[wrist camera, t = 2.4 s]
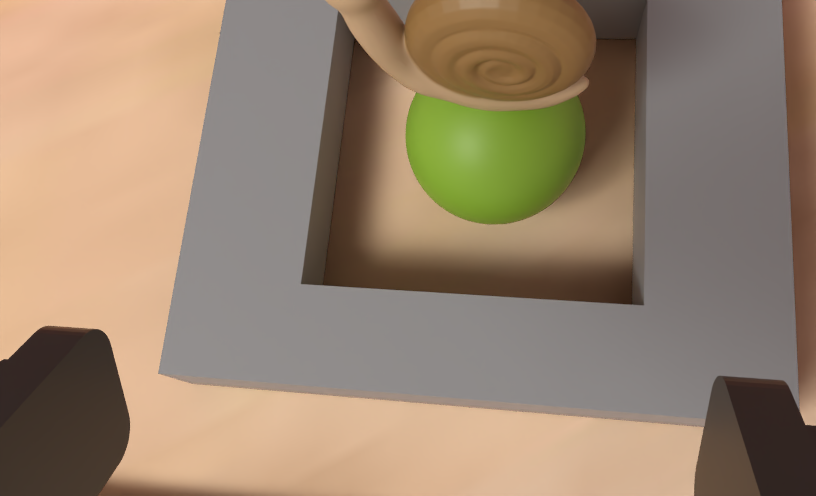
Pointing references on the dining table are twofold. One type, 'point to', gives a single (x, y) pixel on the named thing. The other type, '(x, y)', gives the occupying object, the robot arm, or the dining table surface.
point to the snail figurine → (486, 96)
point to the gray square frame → (493, 315)
